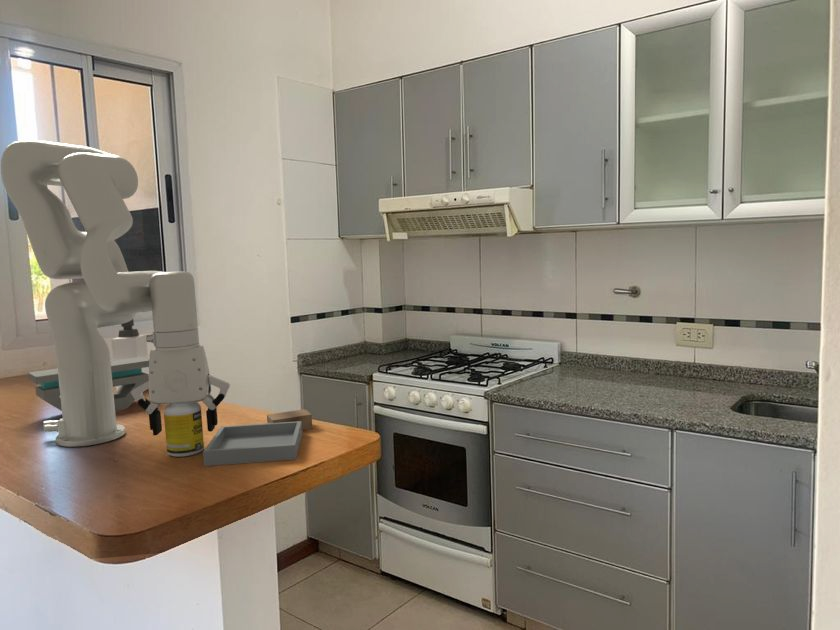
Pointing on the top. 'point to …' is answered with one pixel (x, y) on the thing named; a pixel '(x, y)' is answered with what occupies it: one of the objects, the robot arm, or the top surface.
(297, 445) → the tray
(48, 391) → the sharpening stone
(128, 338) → the soap dispenser
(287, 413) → the walnut block
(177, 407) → the pill bottle
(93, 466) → the top surface
